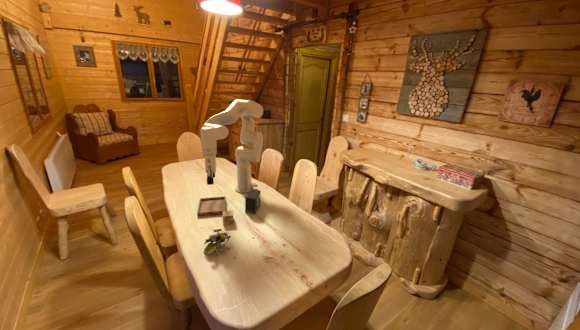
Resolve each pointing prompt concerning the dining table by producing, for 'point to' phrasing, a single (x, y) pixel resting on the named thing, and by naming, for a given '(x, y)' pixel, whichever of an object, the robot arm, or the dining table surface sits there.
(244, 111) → the robot arm
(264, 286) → the dining table surface
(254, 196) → the small box
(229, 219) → the walnut cube
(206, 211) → the walnut tray
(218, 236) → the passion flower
